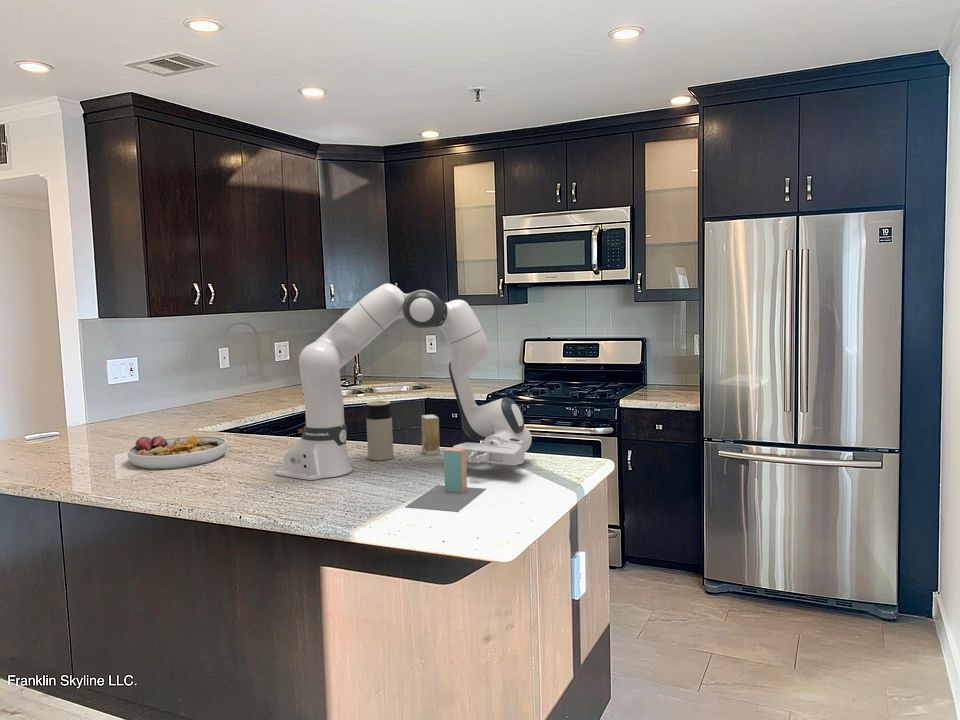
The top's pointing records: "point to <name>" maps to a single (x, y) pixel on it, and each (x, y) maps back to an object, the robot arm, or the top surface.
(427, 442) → the skincare box
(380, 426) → the travel mug
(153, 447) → the bowl
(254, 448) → the top surface
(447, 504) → the mat
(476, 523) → the top surface
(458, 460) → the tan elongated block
